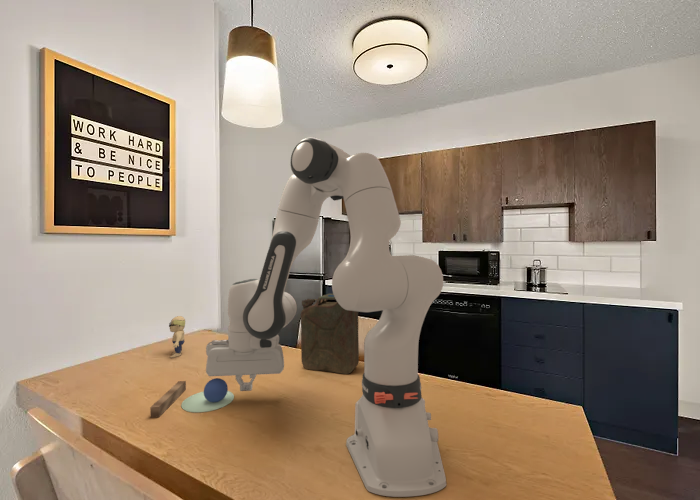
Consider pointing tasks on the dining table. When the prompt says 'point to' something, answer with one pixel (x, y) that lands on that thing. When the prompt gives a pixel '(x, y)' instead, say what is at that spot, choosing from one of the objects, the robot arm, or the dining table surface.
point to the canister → (329, 336)
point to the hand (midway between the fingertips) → (246, 390)
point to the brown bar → (167, 399)
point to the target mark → (205, 403)
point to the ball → (215, 390)
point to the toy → (177, 334)
